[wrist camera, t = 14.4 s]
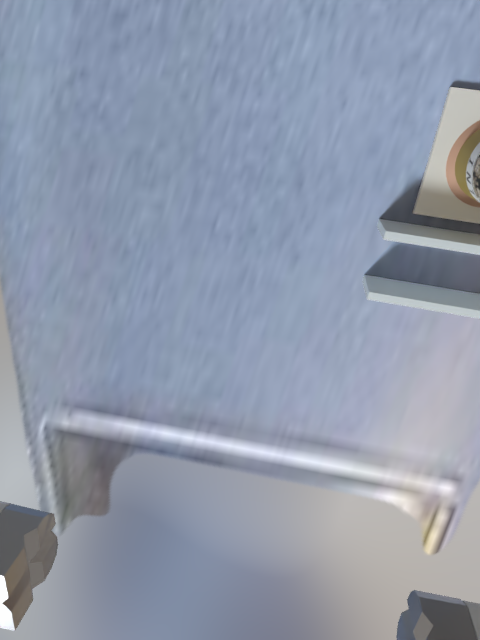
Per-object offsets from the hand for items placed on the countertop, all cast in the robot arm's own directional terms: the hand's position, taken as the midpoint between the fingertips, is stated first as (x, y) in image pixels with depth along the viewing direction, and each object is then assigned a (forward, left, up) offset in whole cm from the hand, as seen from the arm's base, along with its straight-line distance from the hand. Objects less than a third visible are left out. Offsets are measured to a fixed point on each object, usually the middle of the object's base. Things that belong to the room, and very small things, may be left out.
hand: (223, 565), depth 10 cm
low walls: (+3, +15, -40) cm, 42 cm away
